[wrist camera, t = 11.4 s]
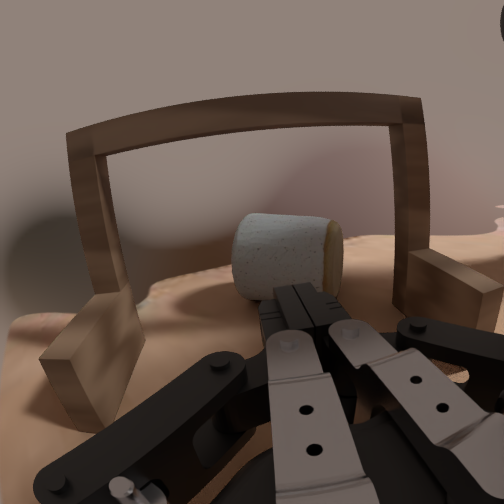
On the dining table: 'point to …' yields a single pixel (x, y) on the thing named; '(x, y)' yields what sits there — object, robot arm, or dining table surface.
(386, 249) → the dining table surface
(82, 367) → the wooden arch frame
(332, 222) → the ceramic mug
